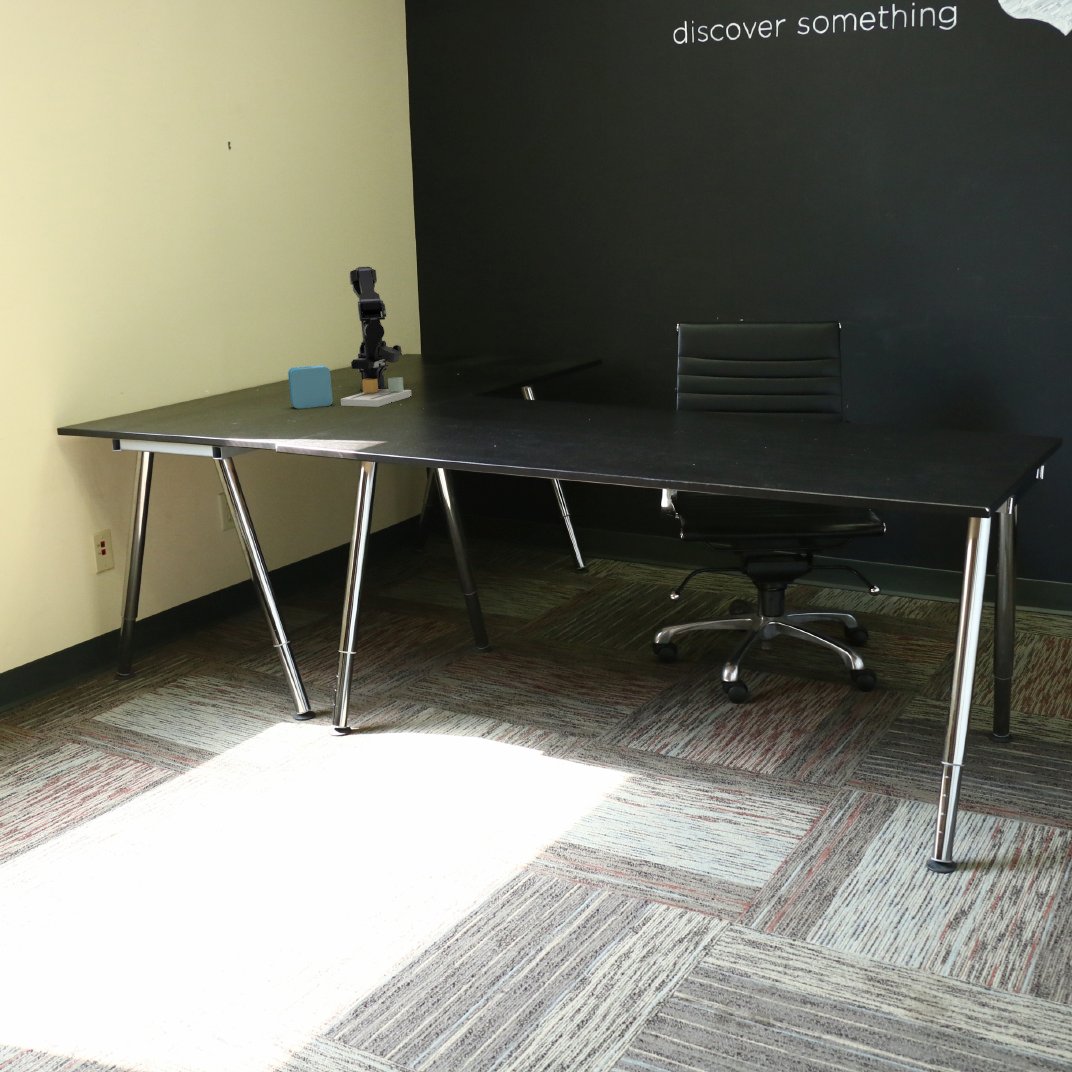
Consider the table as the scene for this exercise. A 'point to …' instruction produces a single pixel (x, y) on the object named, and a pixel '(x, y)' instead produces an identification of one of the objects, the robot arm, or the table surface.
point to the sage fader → (395, 384)
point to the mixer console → (375, 398)
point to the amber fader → (370, 385)
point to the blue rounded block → (310, 386)
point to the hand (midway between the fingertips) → (376, 388)
